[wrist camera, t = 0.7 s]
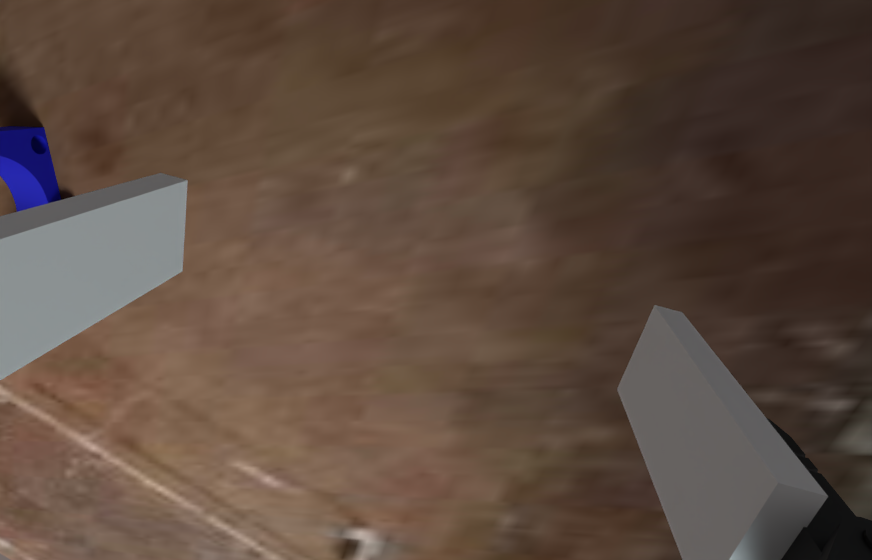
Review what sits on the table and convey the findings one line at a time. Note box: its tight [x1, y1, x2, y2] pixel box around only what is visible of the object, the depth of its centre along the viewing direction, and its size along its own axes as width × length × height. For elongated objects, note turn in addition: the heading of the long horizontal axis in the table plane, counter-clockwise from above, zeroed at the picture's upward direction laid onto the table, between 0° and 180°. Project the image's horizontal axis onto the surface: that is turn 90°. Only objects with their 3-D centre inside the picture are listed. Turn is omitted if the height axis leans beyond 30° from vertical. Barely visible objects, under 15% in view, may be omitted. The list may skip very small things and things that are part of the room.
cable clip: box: [0, 126, 61, 212], centre depth 41 cm, size 12×4×6 cm, turn 179°
